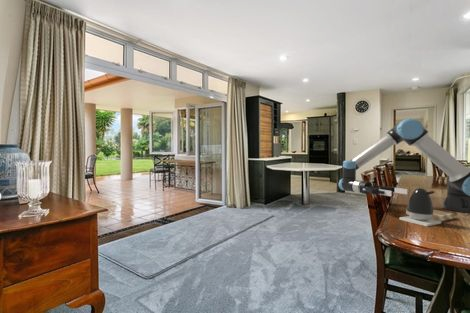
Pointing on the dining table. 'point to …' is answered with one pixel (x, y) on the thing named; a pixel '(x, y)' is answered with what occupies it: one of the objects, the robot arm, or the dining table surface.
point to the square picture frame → (440, 215)
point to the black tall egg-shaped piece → (420, 205)
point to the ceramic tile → (424, 223)
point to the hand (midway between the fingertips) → (399, 192)
